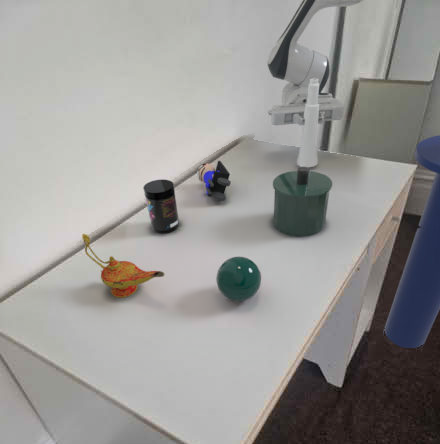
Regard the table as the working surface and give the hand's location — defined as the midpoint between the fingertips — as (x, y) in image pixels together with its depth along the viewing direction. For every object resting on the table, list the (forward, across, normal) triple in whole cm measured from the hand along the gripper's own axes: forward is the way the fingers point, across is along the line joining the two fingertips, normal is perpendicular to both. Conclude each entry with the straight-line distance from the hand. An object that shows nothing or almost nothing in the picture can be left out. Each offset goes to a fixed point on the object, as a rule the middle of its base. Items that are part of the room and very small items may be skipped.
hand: (312, 121), depth 101 cm
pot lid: (+30, -9, +3) cm, 32 cm away
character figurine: (+12, -28, +13) cm, 33 cm away
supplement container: (+28, -40, +13) cm, 50 cm away
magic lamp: (+51, -45, +13) cm, 69 cm away
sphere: (+54, -25, +13) cm, 61 cm away
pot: (+30, -9, +13) cm, 34 cm away
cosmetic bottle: (-1, 0, +12) cm, 12 cm away
